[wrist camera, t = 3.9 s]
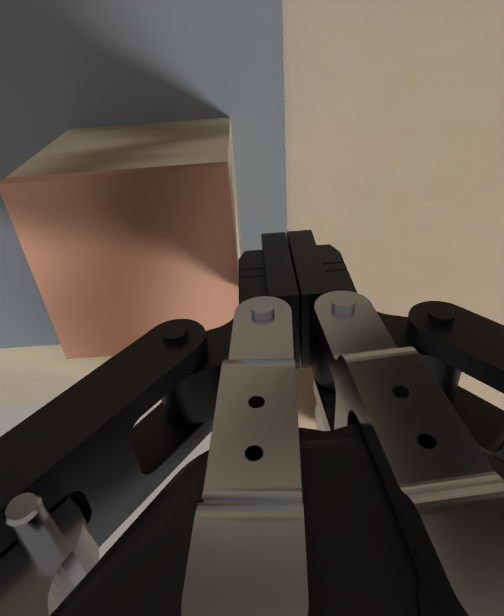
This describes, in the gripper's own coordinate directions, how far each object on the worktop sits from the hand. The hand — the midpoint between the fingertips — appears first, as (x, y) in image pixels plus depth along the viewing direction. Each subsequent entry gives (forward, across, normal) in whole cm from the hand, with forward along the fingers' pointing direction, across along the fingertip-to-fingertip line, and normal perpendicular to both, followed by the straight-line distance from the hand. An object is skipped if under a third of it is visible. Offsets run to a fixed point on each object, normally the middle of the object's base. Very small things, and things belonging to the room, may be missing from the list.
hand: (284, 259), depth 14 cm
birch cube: (+6, +4, 0) cm, 7 cm away
